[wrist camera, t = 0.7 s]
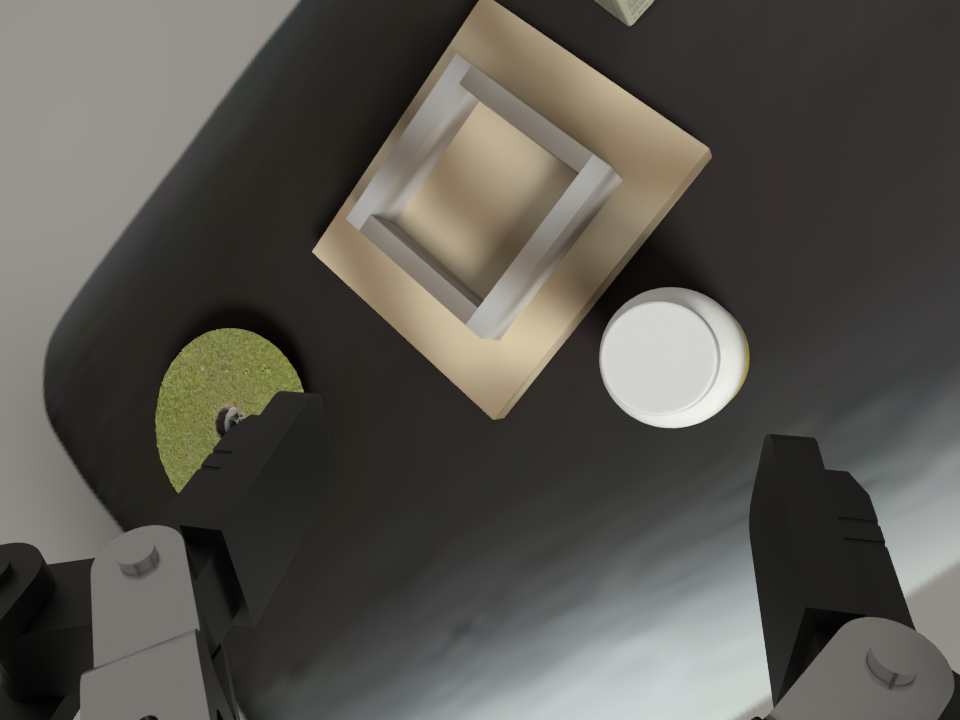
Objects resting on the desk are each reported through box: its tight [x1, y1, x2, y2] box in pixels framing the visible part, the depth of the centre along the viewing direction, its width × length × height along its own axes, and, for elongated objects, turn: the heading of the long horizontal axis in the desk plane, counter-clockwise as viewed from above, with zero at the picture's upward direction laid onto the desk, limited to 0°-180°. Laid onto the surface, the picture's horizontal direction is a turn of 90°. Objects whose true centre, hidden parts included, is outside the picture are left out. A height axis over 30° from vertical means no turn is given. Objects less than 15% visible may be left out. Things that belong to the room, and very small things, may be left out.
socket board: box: [312, 0, 712, 420], centre depth 36 cm, size 16×14×4 cm
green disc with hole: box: [155, 328, 304, 493], centre depth 43 cm, size 11×11×2 cm
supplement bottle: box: [599, 287, 750, 428], centre depth 29 cm, size 5×5×10 cm
